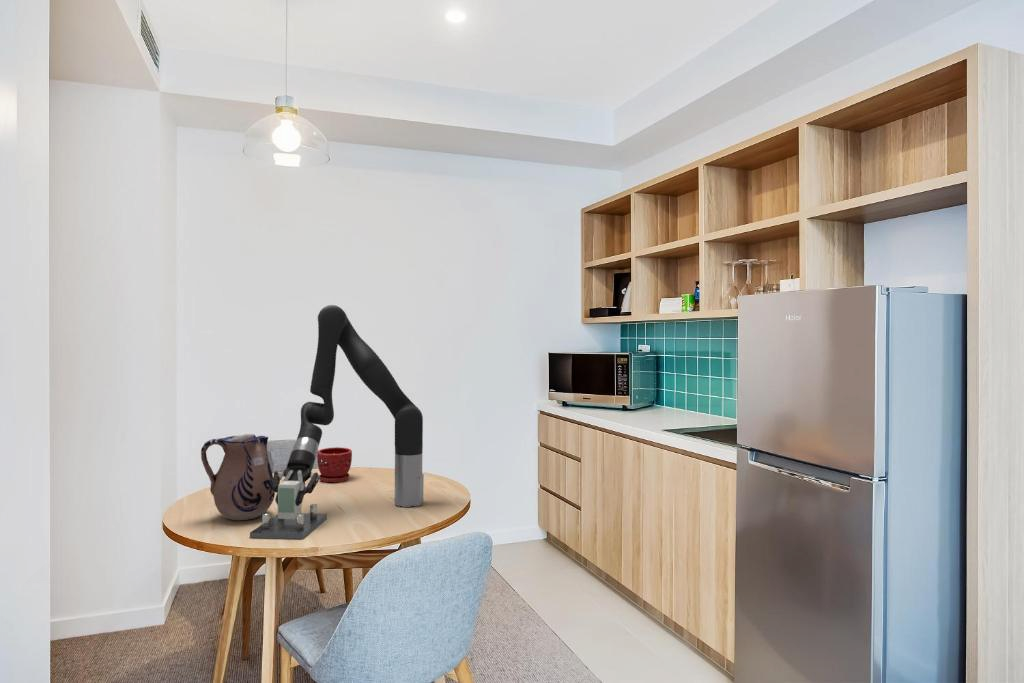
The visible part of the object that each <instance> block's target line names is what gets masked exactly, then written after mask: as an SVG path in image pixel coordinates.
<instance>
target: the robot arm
mask: <svg viewBox="0 0 1024 683" xmlns="http://www.w3.org/2000/svg"><path fill="white" fill-rule="evenodd" d="M317 325H318V326H317V330H318V338H317V348H316V355H315V361H314V364H313V370H312V375H311V382H310V386H309V390H310V394H312V395H314V396H316V397H320V398H321V399H322V400H323V402H314V401H307V402H305V403H304V404H302V406H301V408H300V427H299V431H298V434H297V437H296V441H294V444H293V447H292V450H291V452H290V455H289V458H288V462H287V464H286V468H285V469H284V470H283V471H282V472H278V471H277V470H276V471H273V489H274V491H275V497H274V500H275V501H274V502H275V503H276V506H278V484H280V483H282V482H284V481H298V482H300V488H299V489H300V491H298V494H297V497H296V501H295V504H296V506H299V505H300V504H301V503H302V504H303V500H304V497H305V495H306V494H312V492H314V489H315V488H316V486H317V484H318V482H319V481H320V477H319V475H320V474H319V473H318V472H317V471H316V472H312V471H313V469H314V465H315V462H316V459H317V452H318V451H319V446H320V443H321V439H322V438H323V436H322V435H323V430H322V429H321V427H320V426H328V425H330V424H331V423H332V422H333V420H334V418H335V412H334V404H333V387H334V381H335V375H336V374H335V373H336V364H337V350H338V347H340V349H341V350H342V352H343V353H344V356H345V357H346V359H347V361H348V362H349V364H350V367H352V369H353V370H354V372H355V373H356V375H357V376H358V377H359V378H360V380H361V382H363V384H364V385H365V386H366V388H368V390H370V391H371V392H372V393H373V394H374V395H375V396H376V397H378V398H379V400H380V401H381V402H382V403H383V404H384V405H385V406H386V408H387V409H388V411H389V412H390V414H391V415H392V417H393V418H394V419H393V420H394V497H393V499H394V505H395V506H396V505H397V506H396V507H400V506H402V507H401V508H411V506H414V507H421V506H422V504H423V503H424V484H425V483H424V478H425V477H424V473H423V447H424V446H423V444H424V443H423V435H424V432H423V430H424V425H423V424H424V418H423V417H424V416H423V414H422V411H421V409H419V407H418V406H417V405H415V404H414V402H413V401H411V399H410V398H409V397H408V396H407V395H406V394H405V393H404V392H403V390H402V389H401V387H400V386H399V384H398V383H397V381H396V380H395V378H394V376H393V375H392V374H393V373H391V372H390V370H389V369H388V367H387V365H386V364H385V363H384V362H383V360H382V359H381V358H380V356H379V355H378V354H377V352H376V351H375V350H374V349H372V347H370V345H369V344H368V343H367V342H365V341H364V340H363V339H362V337H360V335H359V333H358V332H357V331H356V329H355V327H354V326H353V325H352V323H351V321H350V320H349V318H348V315H347V313H346V312H345V310H343V309H342V307H340V306H338V305H336V304H335V305H334V304H329V305H326V306H324V307H323V308H321V310H320V311H319V313H318V314H317ZM318 425H320V426H318ZM283 477H284V479H283ZM282 479H283V480H282ZM309 479H310V480H309ZM308 480H309V481H308ZM307 481H308V483H307V485H306V482H307ZM422 502H423V503H422ZM420 505H421V506H420Z"/></svg>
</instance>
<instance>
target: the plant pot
mask: <svg viewBox="0 0 1024 683" xmlns="http://www.w3.org/2000/svg"><path fill="white" fill-rule="evenodd" d="M316 459H317V461H316V462H317V468H318V471H319V474H318V475H319V477H320V479H319V481H322V482H324V483H328V482H337V483H341V482H345V481H347V480H348V479H349V478H350V473H349V471H350V469H351V466H352V459H353V450H352V449H351V448H347V447H340V446H338V447H337V446H336V447H326V448H321V449H318V452H317V457H316Z"/></svg>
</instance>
